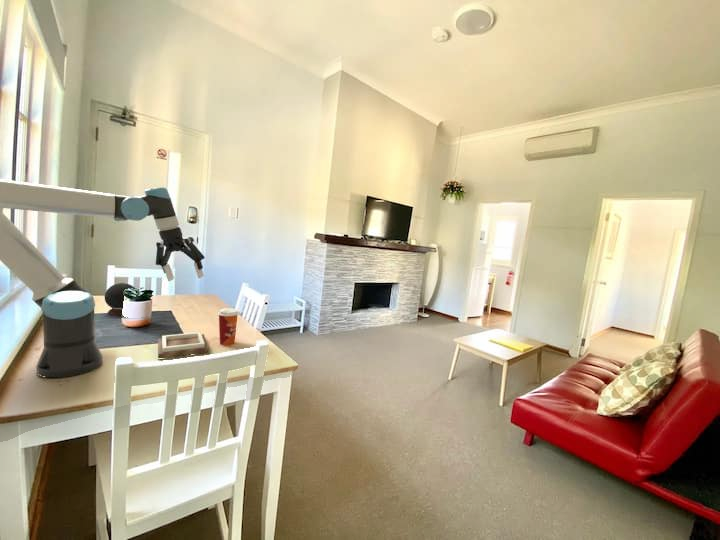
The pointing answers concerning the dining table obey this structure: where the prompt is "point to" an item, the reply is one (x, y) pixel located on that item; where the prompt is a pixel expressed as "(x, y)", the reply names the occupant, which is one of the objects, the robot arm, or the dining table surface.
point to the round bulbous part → (116, 298)
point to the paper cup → (227, 325)
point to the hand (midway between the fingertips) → (186, 278)
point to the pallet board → (182, 345)
